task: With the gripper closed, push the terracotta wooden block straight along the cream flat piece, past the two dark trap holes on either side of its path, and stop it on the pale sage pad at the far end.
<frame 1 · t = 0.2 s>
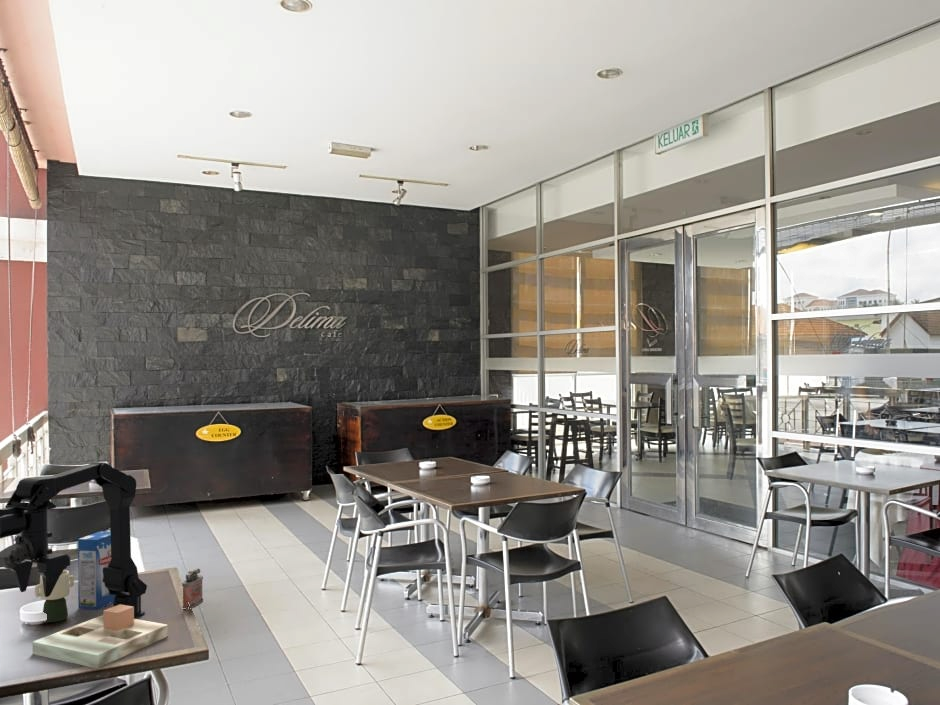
hand: (35, 594, 178), 14 cm above the table, tool pointing down, fingers open, 9 cm apart
block: (118, 626, 187), point 3 cm above the table, touching cream flat piece
cream flat piece: (102, 644, 183), on the table
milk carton: (99, 604, 214), on the table
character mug: (55, 621, 200), on the table
lighter: (192, 605, 212), on the table
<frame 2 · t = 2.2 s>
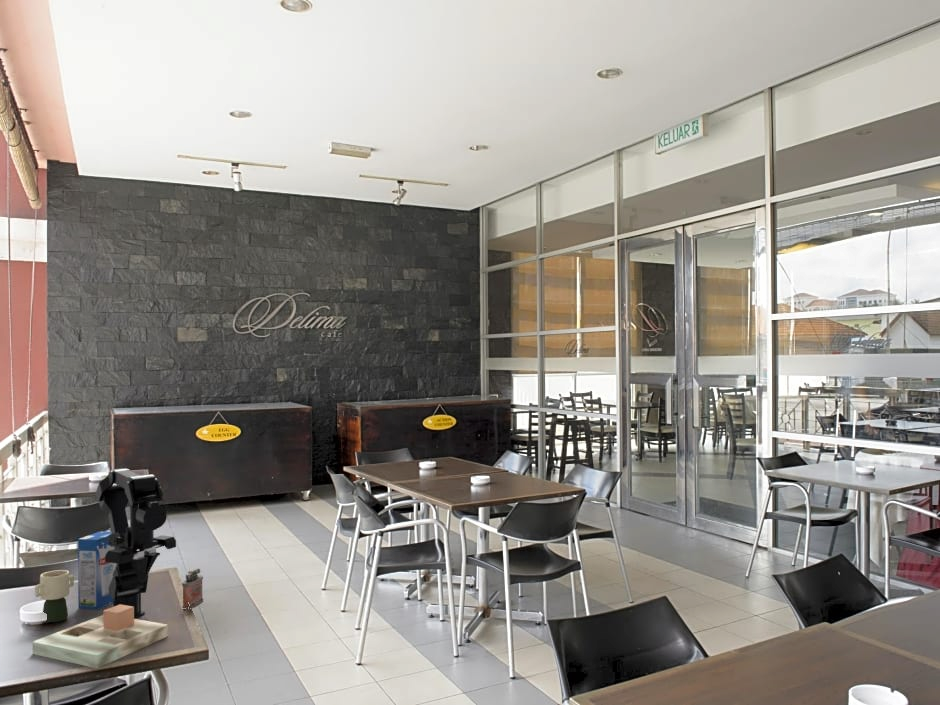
hand: (142, 581, 194), 12 cm above the table, tool pointing down, fingers closed
nothing on the table moved.
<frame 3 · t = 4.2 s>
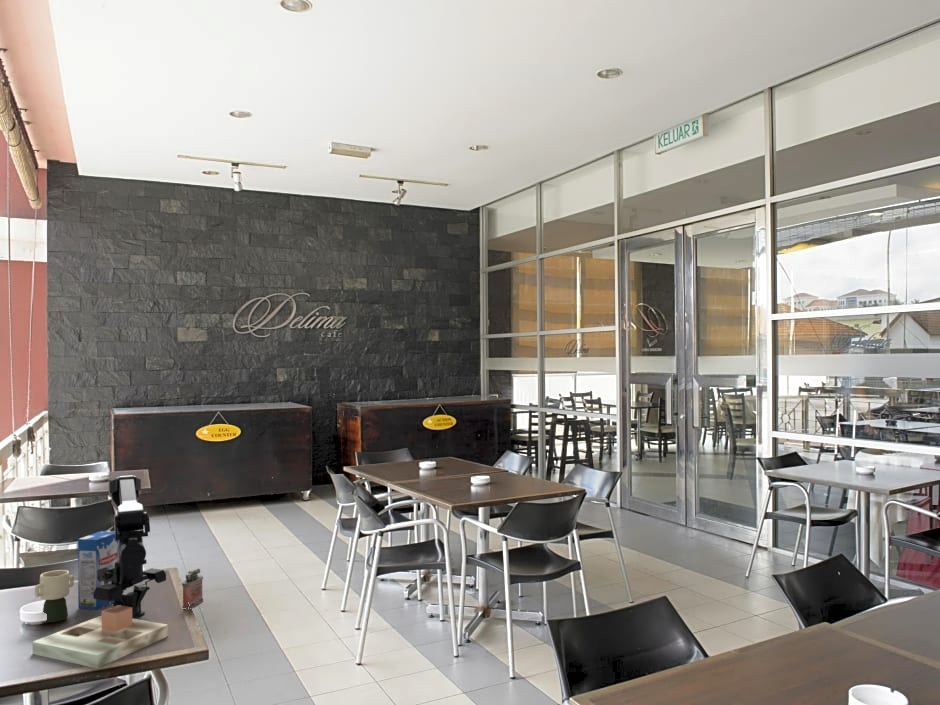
hand: (131, 616, 191), 4 cm above the table, tool pointing down, fingers closed
block: (117, 626, 187), point 3 cm above the table, touching cream flat piece, gripper
everything else where it was.
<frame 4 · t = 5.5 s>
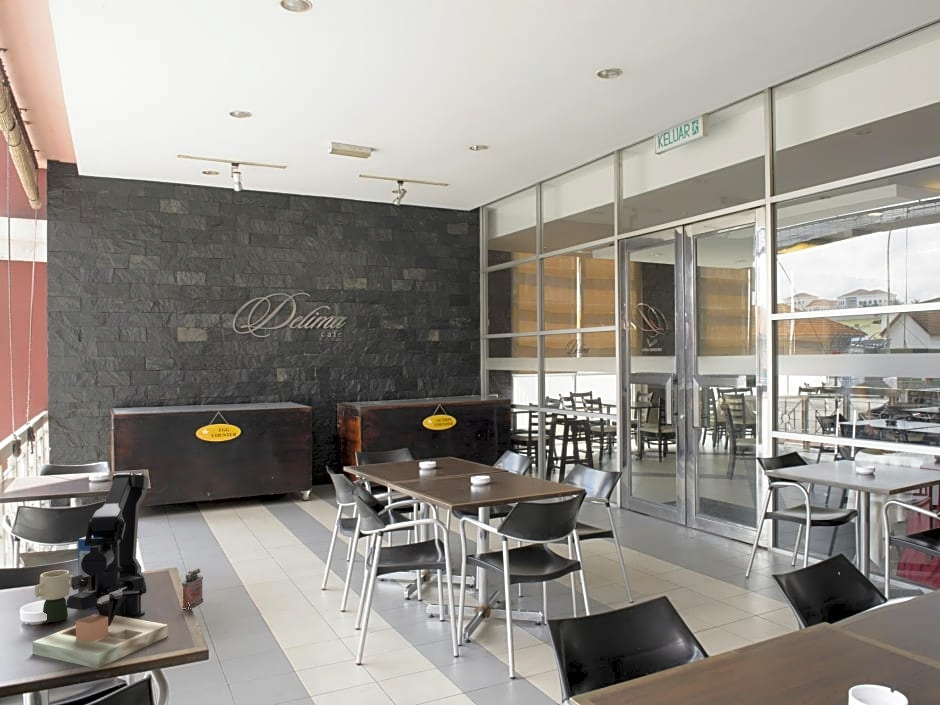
hand: (107, 626, 184), 4 cm above the table, tool pointing down, fingers closed
block: (92, 637, 180), point 3 cm above the table, touching cream flat piece, gripper
everything else where it was.
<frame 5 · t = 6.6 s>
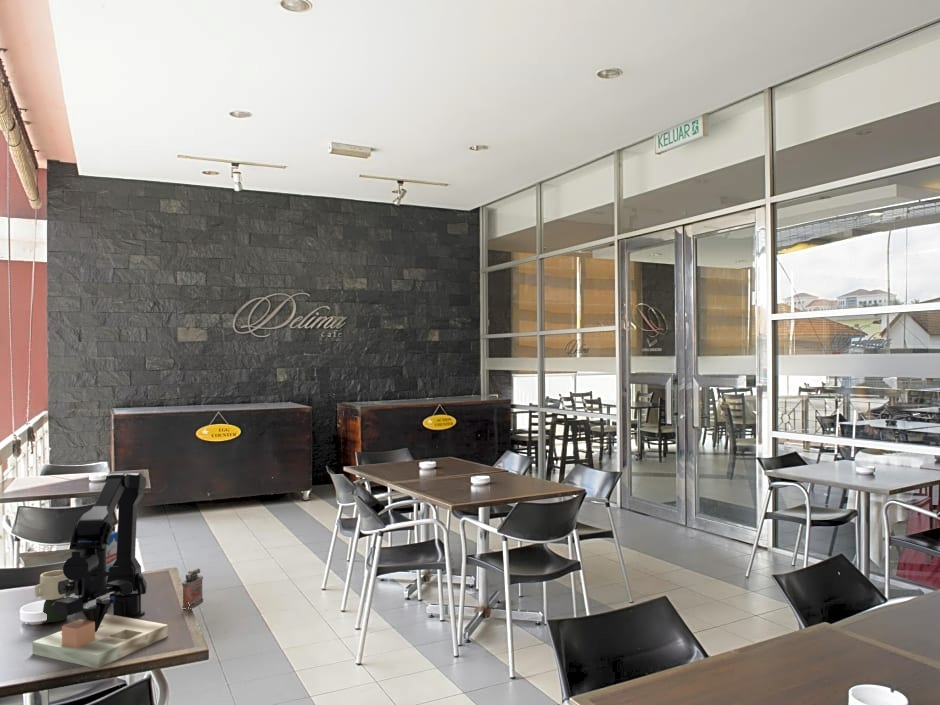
hand: (94, 631, 181), 4 cm above the table, tool pointing down, fingers closed
block: (78, 642, 177), point 3 cm above the table, touching cream flat piece, gripper
everything else where it was.
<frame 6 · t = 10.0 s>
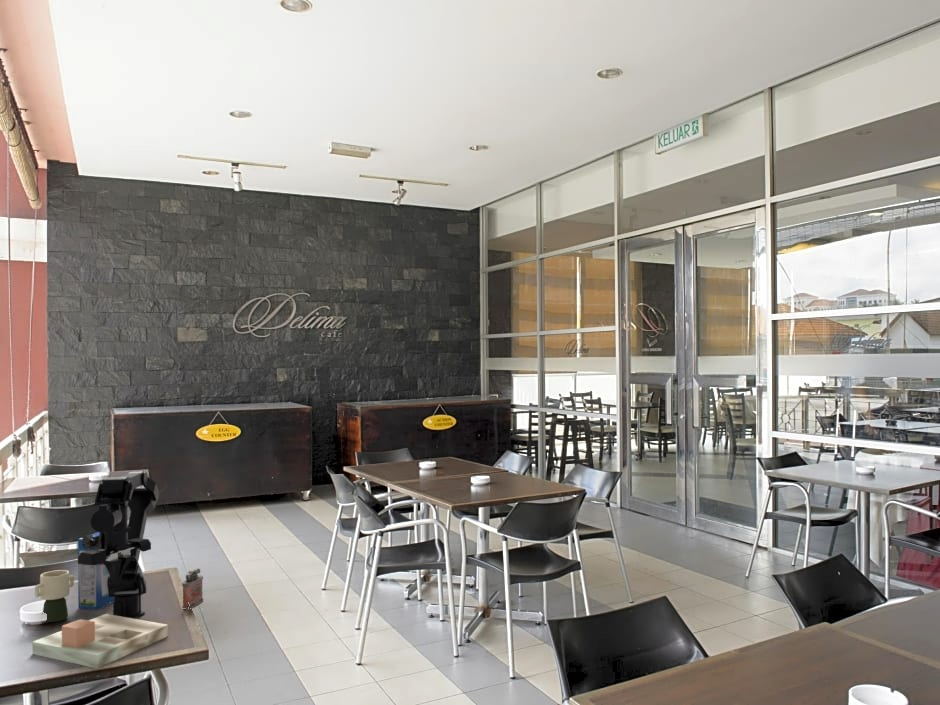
hand: (115, 583, 193), 12 cm above the table, tool pointing down, fingers closed
block: (78, 642, 177), point 3 cm above the table, touching cream flat piece
everything else where it was.
at the end: block 0.3 cm from the target spot on the cream flat piece, point 3.0 cm above the cream flat piece's base; block tilted 0°; block moved 11.7 cm from its start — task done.
